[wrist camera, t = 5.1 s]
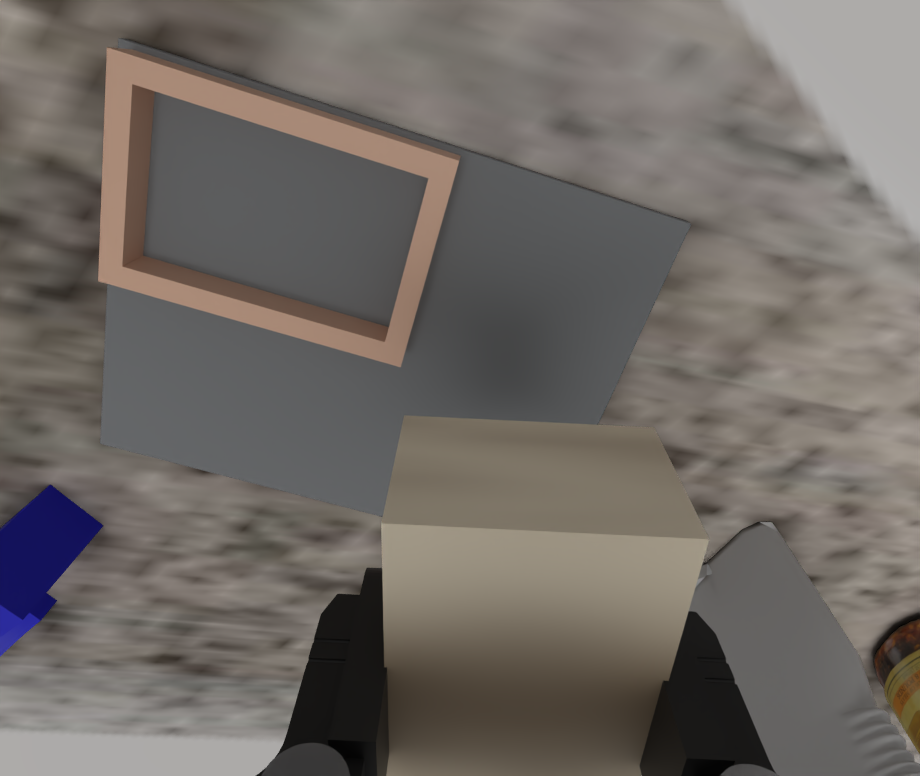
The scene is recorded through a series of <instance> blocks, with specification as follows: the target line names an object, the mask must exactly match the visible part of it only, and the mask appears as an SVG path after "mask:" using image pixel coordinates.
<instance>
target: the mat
mask: <svg viewBox="0 0 920 776" xmlns="http://www.w3.org/2000/svg"><path fill="white" fill-rule="evenodd" d="M118 48H121V49H132V50H136V51H139V52H142V53H145V54H148V55H151V56H154V57H157V58H160V59H163V60H166V61H170V62H173V63H176V64H179V65H182V66H185V67H188V68H191V69H194V70H197V71H200V72H204V73H207V74H210V75H213V76H216V77H219V78H222V79H225V80H228V81H231V82H234V83H238V84H241V85H244V86H247V87H250V88H253V89H256V90H259V91H262V92H265V93H268V94H271V95H275V96H278V97H281V98H284V99H287V100H290V101H293V102H296V103H299V104H302V105H305V106H309V107H312V108H315V109H318V110H321V111H324V112H327V113H330V114H333V115H336V116H339V117H343V118H346V119H349V120H352V121H355V122H358V123H361V124H364V125H367V126H370V127H373V128H377V129H380V130H383V131H386V132H389V133H392V134H395V135H398V136H401V137H404V138H407V139H410V140H414V141H417V142H420V143H423V144H426V145H429V146H432V147H435V148H438V149H441V150H444V151H448V152H451V153H454V154H457V155H460V156H461V157H460V160H459V164H458V167H457V171H456V174H455V178H454V181H453V185H452V188H451V192H450V196H449V199H448V203H447V206H446V210H445V213H444V217H443V220H442V224H441V227H440V231H439V234H438V238H437V241H436V245H435V248H434V252H433V255H432V259H431V262H430V266H429V269H428V273H427V276H426V280H425V283H424V287H423V290H422V294H421V297H420V301H419V304H418V308H417V312H416V315H415V319H414V322H413V326H412V329H411V333H410V336H409V340H408V343H407V347H406V350H405V354H404V357H403V361H402V364H401V367H398V366H394V365H391V364H387V363H384V362H380V361H377V360H373V359H370V358H366V357H363V356H359V355H356V354H352V353H349V352H345V351H342V350H338V349H335V348H331V347H328V346H324V345H321V344H317V343H314V342H310V341H307V340H303V339H300V338H296V337H293V336H289V335H286V334H282V333H278V332H275V331H271V330H268V329H264V328H261V327H257V326H254V325H250V324H247V323H243V322H240V321H236V320H233V319H229V318H226V317H222V316H219V315H215V314H212V313H208V312H205V311H201V310H198V309H194V308H191V307H187V306H184V305H180V304H177V303H173V302H170V301H166V300H163V299H159V298H156V297H152V296H149V295H145V294H142V293H138V292H135V291H131V290H128V289H124V288H121V287H117V286H114V285H110V284H107V304H106V326H105V349H104V371H103V394H102V416H101V438H100V444H104V445H107V446H111V447H115V448H119V449H123V450H127V451H131V452H134V453H138V454H142V455H146V456H150V457H154V458H158V459H161V460H165V461H169V462H173V463H177V464H181V465H185V466H188V467H192V468H196V469H200V470H204V471H208V472H212V473H215V474H219V475H223V476H227V477H231V478H235V479H239V480H242V481H246V482H250V483H254V484H258V485H262V486H266V487H269V488H273V489H277V490H281V491H285V492H289V493H293V494H296V495H300V496H304V497H308V498H312V499H316V500H320V501H323V502H327V503H331V504H335V505H339V506H343V507H347V508H350V509H354V510H358V511H362V512H366V513H370V514H374V515H377V516H381V517H383V513H384V508H385V504H386V499H387V494H388V489H389V485H390V480H391V475H392V470H393V466H394V461H395V456H396V451H397V447H398V442H399V437H400V433H401V428H402V423H403V418H404V415H408V416H428V417H449V418H470V419H490V420H511V421H532V422H552V423H573V424H594V425H598V423H599V421H600V419H601V417H602V415H603V413H604V410H605V408H606V406H607V404H608V402H609V400H610V398H611V395H612V393H613V391H614V389H615V387H616V385H617V383H618V380H619V378H620V376H621V374H622V372H623V370H624V368H625V365H626V363H627V361H628V359H629V357H630V355H631V352H632V350H633V348H634V346H635V344H636V342H637V340H638V337H639V335H640V333H641V331H642V329H643V327H644V325H645V322H646V320H647V318H648V316H649V314H650V312H651V309H652V307H653V305H654V303H655V301H656V299H657V297H658V294H659V292H660V290H661V288H662V286H663V284H664V282H665V279H666V277H667V275H668V273H669V271H670V269H671V267H672V264H673V262H674V260H675V258H676V256H677V254H678V251H679V249H680V247H681V245H682V243H683V241H684V239H685V236H686V234H687V232H688V230H689V228H690V226H691V224H690V223H689V222H688V221H685V220H682V219H679V218H676V217H673V216H670V215H666V214H663V213H660V212H657V211H654V210H651V209H648V208H645V207H642V206H639V205H636V204H633V203H630V202H626V201H623V200H620V199H617V198H614V197H611V196H608V195H605V194H602V193H599V192H596V191H593V190H590V189H587V188H583V187H580V186H577V185H574V184H571V183H568V182H565V181H562V180H559V179H556V178H553V177H550V176H547V175H543V174H540V173H537V172H534V171H531V170H528V169H525V168H522V167H519V166H516V165H513V164H510V163H507V162H503V161H500V160H497V159H494V158H491V157H488V156H485V155H482V154H479V153H476V152H473V151H470V150H467V149H463V148H460V147H457V146H454V145H451V144H448V143H445V142H442V141H439V140H436V139H433V138H430V137H427V136H423V135H420V134H417V133H414V132H411V131H408V130H405V129H402V128H399V127H396V126H393V125H390V124H387V123H383V122H380V121H377V120H374V119H371V118H368V117H365V116H362V115H359V114H356V113H353V112H350V111H347V110H343V109H340V108H337V107H334V106H331V105H328V104H325V103H322V102H319V101H316V100H313V99H310V98H307V97H304V96H300V95H297V94H294V93H291V92H288V91H285V90H282V89H279V88H276V87H273V86H270V85H267V84H264V83H260V82H257V81H254V80H251V79H248V78H245V77H242V76H239V75H236V74H233V73H230V72H227V71H224V70H220V69H217V68H214V67H211V66H208V65H205V64H202V63H199V62H196V61H193V60H190V59H187V58H184V57H180V56H177V55H174V54H171V53H168V52H165V51H162V50H159V49H156V48H153V47H150V46H147V45H144V44H140V43H137V42H134V41H131V40H128V39H123V38H118ZM428 179H429V178H426V177H423V176H419V175H416V174H413V173H410V172H407V171H404V170H401V169H397V168H394V167H391V166H388V165H385V164H382V163H379V162H375V161H372V160H369V159H366V158H363V157H360V156H357V155H353V154H350V153H347V152H344V151H341V150H338V149H335V148H331V147H328V146H325V145H322V144H319V143H316V142H313V141H309V140H306V139H303V138H300V137H297V136H294V135H291V134H287V133H284V132H281V131H278V130H275V129H272V128H269V127H265V126H262V125H259V124H256V123H253V122H250V121H247V120H243V119H240V118H237V117H234V116H231V115H228V114H225V113H221V112H218V111H215V110H212V109H209V108H206V107H203V106H199V105H196V104H193V103H190V102H187V101H184V100H181V99H177V98H174V97H171V96H168V95H165V94H162V93H159V92H155V93H154V108H153V122H152V136H151V151H150V165H149V179H148V193H147V208H146V222H145V236H144V250H143V256H146V257H150V258H153V259H156V260H160V261H163V262H167V263H170V264H174V265H177V266H180V267H184V268H187V269H191V270H194V271H198V272H201V273H205V274H208V275H211V276H215V277H218V278H222V279H225V280H229V281H232V282H235V283H239V284H242V285H246V286H249V287H253V288H256V289H259V290H263V291H266V292H270V293H273V294H277V295H280V296H283V297H287V298H290V299H294V300H297V301H301V302H304V303H308V304H311V305H314V306H318V307H321V308H325V309H328V310H332V311H335V312H338V313H342V314H345V315H349V316H352V317H356V318H359V319H362V320H366V321H369V322H373V323H376V324H380V325H383V326H387V327H389V325H390V321H391V318H392V314H393V310H394V306H395V302H396V299H397V295H398V291H399V287H400V284H401V280H402V276H403V272H404V269H405V265H406V261H407V257H408V254H409V250H410V246H411V242H412V239H413V235H414V231H415V227H416V224H417V220H418V216H419V212H420V209H421V205H422V201H423V197H424V194H425V190H426V186H427V182H428Z"/></svg>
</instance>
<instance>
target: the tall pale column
mask: <svg viewBox="0 0 920 776" xmlns="http://www.w3.org/2000/svg"><path fill="white" fill-rule="evenodd" d="M689 611H694V612H697V613H698V614H699V616H700V617H701V618H702V619H703V620H704V621H705V622H706V623H707V625H708V626H709V627H710V628H711V629H712V630H713V631H714V632H715V633H716V636H717V638H718V640H719V643H720V645H721V647H722V650H723V652H724V654H725V657H726V663H728V664H729V666H730V669H731V671H732V673H733V676H734V678H735V684H737V685H738V688H739V690H740V692H741V695H742V697H743V700H744V702H745V704H746V707H747V709H748V711H749V714H750V716H751V718H752V721H753V723H754V726H755V728H756V730H757V733H758V735H759V737H760V740H761V742H762V745H763V747H764V749H765V752H766V754H767V756H768V759H769V761H770V763H771V765H772V767H773V769H774V771H775V772H776V774H778V775H779V776H920V764H919V763H916V762H914V755H913V754H912V753H911V752H910V751H908V750H906V741H905V739H904V738H903V737H902V736H901V735H899V733H898V729H897V727H896V726H895V725H893V724H891V723H890V716H889V714H888V713H887V712H886V711H885V710H883V709H879V708H877V705H876V702H875V699H874V696H873V693H872V690H871V687H870V684H869V681H868V679H867V676H866V673H865V670H864V667H863V664H862V661H861V658H860V656H859V654H858V652H857V651H856V649H855V648H854V646H853V645H852V643H851V642H850V640H849V639H848V637H847V636H846V634H845V633H844V631H843V629H842V628H841V626H840V625H839V623H838V622H837V620H836V619H835V617H834V616H833V614H832V613H831V611H830V609H829V608H828V606H827V605H826V603H825V602H824V600H823V599H822V597H821V595H820V594H819V592H818V591H817V589H816V588H815V586H814V585H813V583H812V582H811V580H810V579H809V577H808V576H807V574H806V573H805V571H804V570H803V568H802V567H801V565H800V564H799V562H798V561H797V559H796V558H795V556H794V554H793V553H792V551H791V550H790V548H789V547H788V545H787V544H786V542H785V541H784V539H783V537H782V536H781V534H780V533H779V531H778V530H777V528H776V527H775V526H774V524H773V523H772V522H759V523H756V524H754V525H752V526H750V527H747V528H745V529H743V530H741V531H740V532H739V533H738V534H737V535H736V536H735V537H734V538H733V539H732V540H731V541H730V542H729V543H728V544H726V545H725V546H724V547H723V548H722V549H721V550H720V551H719V552H718V553H717V554H716V555H715V556H714V557H712V558H711V559H710V560H709V561H708V562H707V564H706V565H702V567H701V570H700V574H699V577H698V581H697V584H696V587H695V591H694V594H693V598H692V601H691V605H690V608H689Z"/></svg>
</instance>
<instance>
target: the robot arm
mask: <svg viewBox="0 0 920 776" xmlns="http://www.w3.org/2000/svg"><path fill="white" fill-rule="evenodd" d="M388 758H389V727H388V680H387V667H384V631H383V582H382V568H367V569H366V571H365V575H364V579H363V584H362V588H361V593H360V595H351V594H337V595H336V597H335V598H334V599H333V600H332V601H331V603H330V604H329V605H328V606H327V608H326V609H325V610H324V611H323V612H322V614H321V616H320V620H319V623H318V627H317V630H316V634H315V637H314V643H313V644H312V648H311V651H310V655H309V661H308V663H307V665H306V669H305V672H304V676H303V679H302V683H301V686H300V690H299V693H298V697H297V700H296V704H295V707H294V711H293V714H292V718H291V721H290V725H289V728H288V732H287V735H286V738H285V741H284V743H283V746H282V747H281V749H280V751H279V753H278V754H277V756H276V757H275V758H274V759H273V760H272V761H271V762H270V764H269V765H268V766H267V767H266V768H265V769H264V770H263V771H262V772H260V773H259V774H258V775H256V776H386V774H387V766H388ZM640 770H641V775H642V776H779V775H778V774H776V772H775V771H774V769H773V767H772V765H771V763H770V761H769V759H768V756H767V754H766V752H765V749H764V747H763V745H762V742H761V740H760V737H759V735H758V733H757V730H756V728H755V726H754V723H753V721H752V718H751V716H750V714H749V711H748V709H747V707H746V704H745V702H744V700H743V697H742V695H741V692H740V690H739V688H738V685H737V684H735V678H734V676H733V673H732V671H731V669H730V666H729V664H728V663H726V657H725V654H724V652H723V650H722V647H721V645H720V643H719V640H718V638H717V636H716V633H715V632H714V631H713V630H712V629H711V628H710V627H709V626H708V625H707V623H706V622H705V621H704V620H703V619H702V618H701V617H700V616H699V614H698V613H697V612H694V611H689V612H688V615H687V619H686V622H685V626H684V629H683V633H682V636H681V639H680V643H679V646H678V650H677V653H676V657H675V660H674V664H673V667H672V671H671V674H670V678H669V681H663V683H662V686H661V690H660V694H659V697H658V701H657V704H656V708H655V712H654V715H653V719H652V722H651V726H650V730H649V733H648V737H647V740H646V744H645V748H644V751H643V755H642V758H641V762H640Z"/></svg>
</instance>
